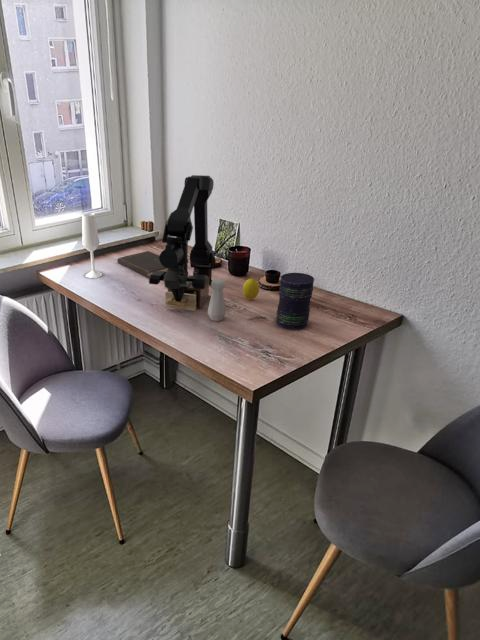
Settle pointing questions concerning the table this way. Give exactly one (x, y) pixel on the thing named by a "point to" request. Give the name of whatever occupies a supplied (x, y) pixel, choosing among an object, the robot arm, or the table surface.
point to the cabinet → (199, 293)
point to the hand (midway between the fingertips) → (178, 304)
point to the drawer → (183, 300)
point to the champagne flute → (90, 239)
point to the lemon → (251, 288)
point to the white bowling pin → (217, 301)
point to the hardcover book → (143, 263)
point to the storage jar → (294, 301)
